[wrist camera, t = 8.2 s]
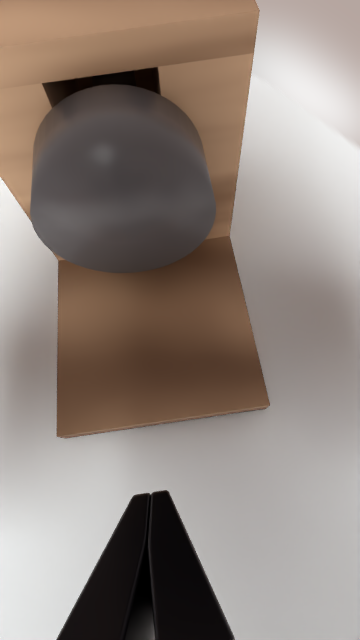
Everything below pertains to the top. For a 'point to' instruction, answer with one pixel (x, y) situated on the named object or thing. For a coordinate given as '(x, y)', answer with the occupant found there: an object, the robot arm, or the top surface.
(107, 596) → the robot arm
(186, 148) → the knob
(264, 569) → the top surface
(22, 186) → the mount
